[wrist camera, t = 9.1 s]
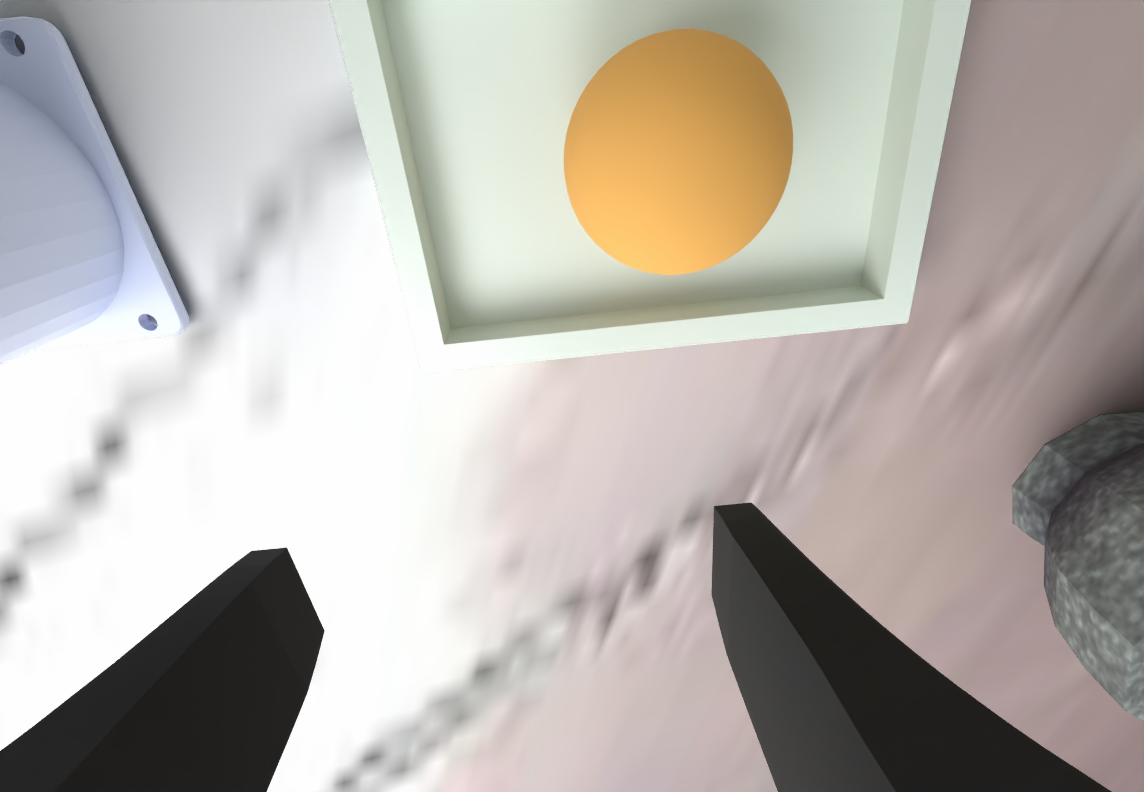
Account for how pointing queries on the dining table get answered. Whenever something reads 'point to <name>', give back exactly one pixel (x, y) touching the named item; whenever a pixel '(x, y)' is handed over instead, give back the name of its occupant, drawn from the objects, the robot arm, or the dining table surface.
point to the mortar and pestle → (1093, 545)
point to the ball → (678, 151)
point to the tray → (539, 194)
